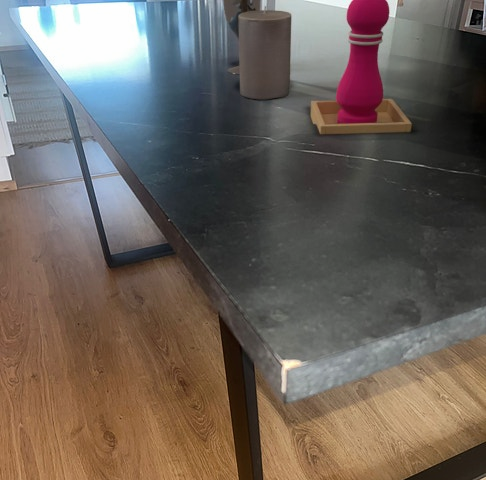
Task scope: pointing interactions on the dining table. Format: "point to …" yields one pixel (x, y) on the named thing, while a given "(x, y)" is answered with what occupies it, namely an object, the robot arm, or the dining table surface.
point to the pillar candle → (264, 53)
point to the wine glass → (233, 5)
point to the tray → (386, 113)
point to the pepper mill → (362, 63)
